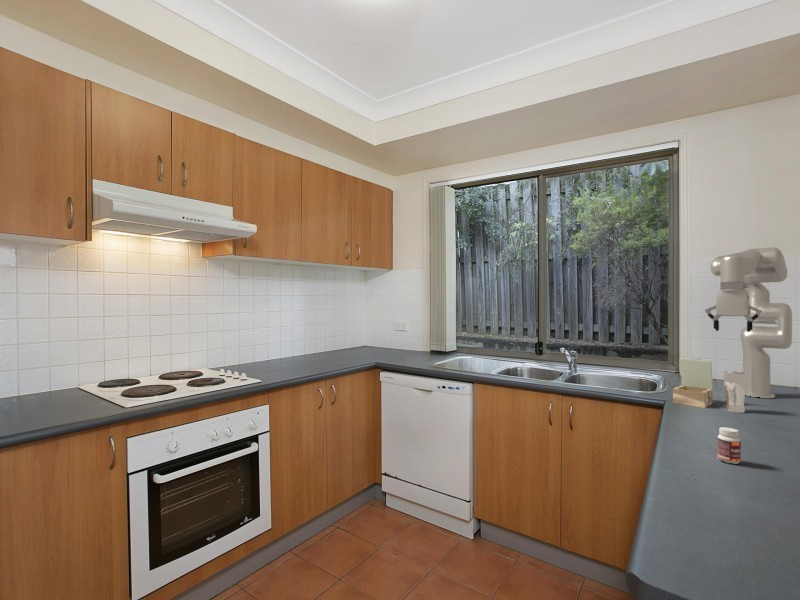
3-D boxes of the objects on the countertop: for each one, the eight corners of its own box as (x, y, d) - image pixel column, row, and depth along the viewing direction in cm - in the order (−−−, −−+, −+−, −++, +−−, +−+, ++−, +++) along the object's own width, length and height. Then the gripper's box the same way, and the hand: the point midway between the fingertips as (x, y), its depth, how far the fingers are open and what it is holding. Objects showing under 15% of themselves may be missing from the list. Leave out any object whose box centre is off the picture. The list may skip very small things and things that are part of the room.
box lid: (681, 384, 183) (683, 383, 184) (712, 388, 175) (713, 387, 176) (679, 358, 181) (680, 357, 182) (710, 361, 173) (711, 360, 174)
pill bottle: (735, 466, 106) (735, 433, 106) (713, 460, 110) (713, 428, 110) (744, 463, 108) (744, 430, 108) (723, 457, 112) (723, 425, 112)
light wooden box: (681, 399, 183) (681, 385, 183) (712, 403, 174) (712, 389, 175) (672, 403, 175) (672, 388, 175) (704, 408, 167) (704, 392, 167)
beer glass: (726, 411, 161) (725, 372, 161) (722, 408, 167) (722, 370, 167) (749, 414, 157) (748, 374, 158) (744, 410, 164) (744, 371, 164)
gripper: (762, 287, 159) (762, 332, 159) (706, 288, 171) (707, 329, 171) (760, 286, 154) (761, 332, 154) (703, 287, 166) (703, 330, 166)
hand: (732, 331), depth 162 cm, fingers open, 9 cm apart
